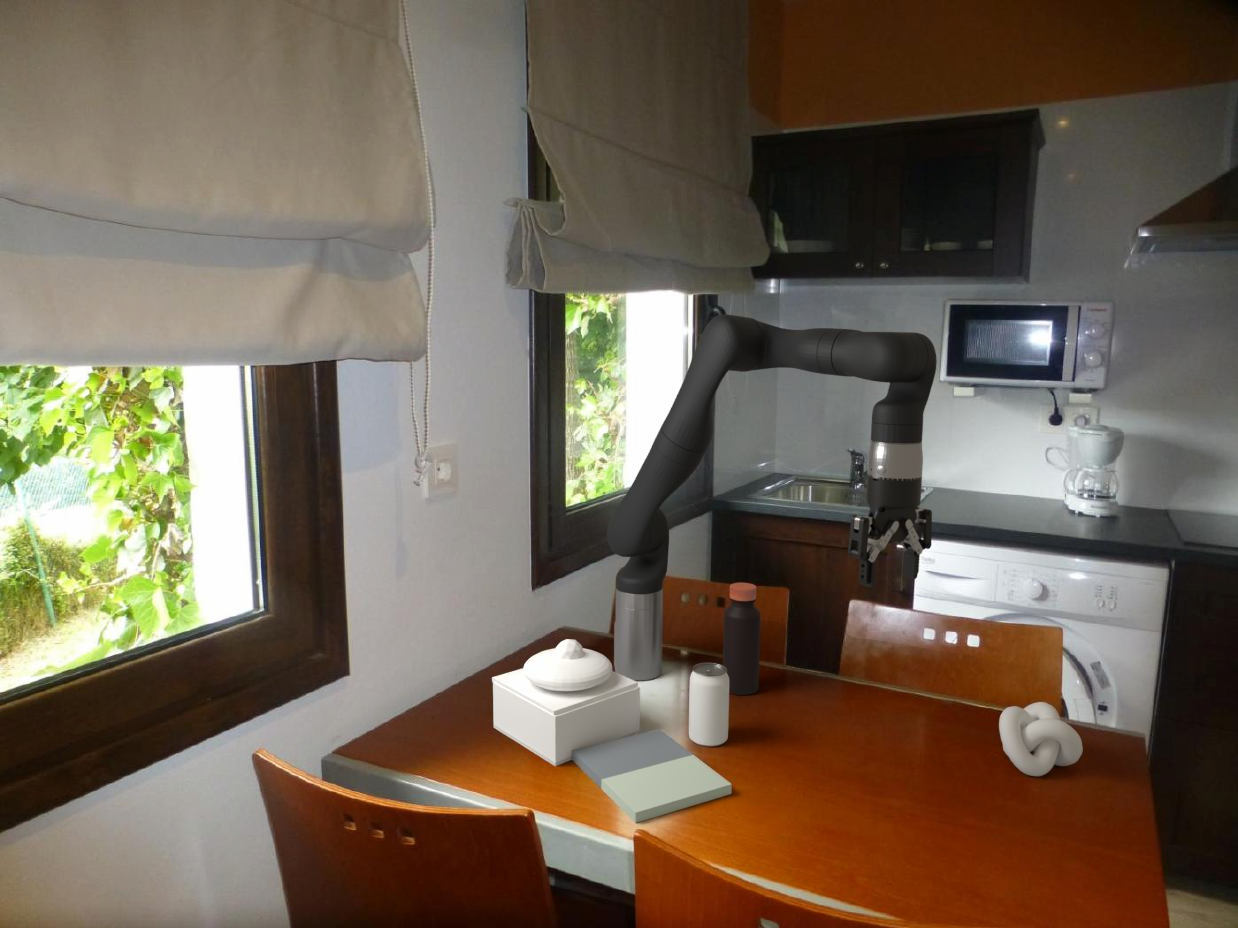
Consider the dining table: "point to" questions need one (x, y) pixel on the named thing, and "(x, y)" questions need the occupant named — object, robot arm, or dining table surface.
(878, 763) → the dining table surface
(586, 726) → the white lidded box
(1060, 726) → the white decorative knot
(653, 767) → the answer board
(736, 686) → the bottle
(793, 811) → the dining table surface
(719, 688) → the can
